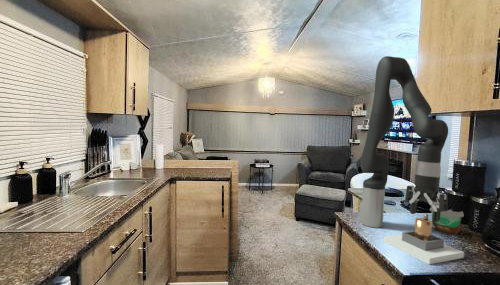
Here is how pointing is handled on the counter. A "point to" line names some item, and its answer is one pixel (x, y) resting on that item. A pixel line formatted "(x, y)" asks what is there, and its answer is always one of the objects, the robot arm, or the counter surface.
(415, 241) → the white board with frame
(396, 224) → the counter surface
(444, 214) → the food container
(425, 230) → the spout can
